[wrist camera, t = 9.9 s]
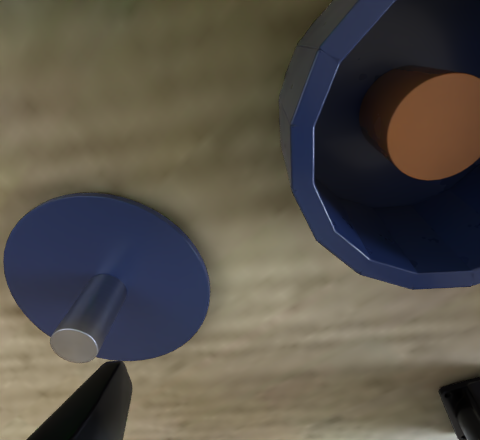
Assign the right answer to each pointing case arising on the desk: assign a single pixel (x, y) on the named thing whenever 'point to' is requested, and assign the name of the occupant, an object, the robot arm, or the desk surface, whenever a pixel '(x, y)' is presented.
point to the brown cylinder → (424, 120)
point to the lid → (106, 278)
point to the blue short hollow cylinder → (366, 156)
